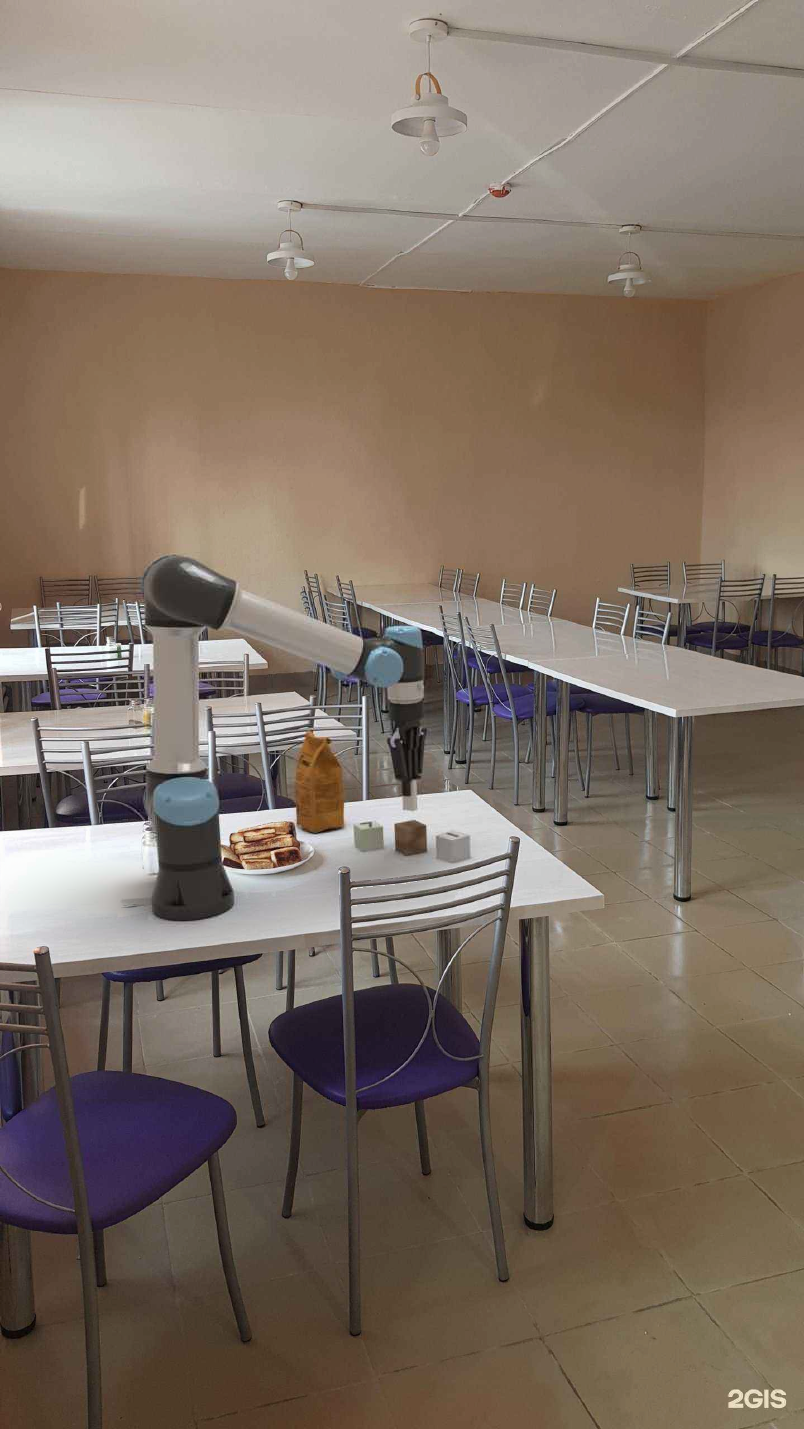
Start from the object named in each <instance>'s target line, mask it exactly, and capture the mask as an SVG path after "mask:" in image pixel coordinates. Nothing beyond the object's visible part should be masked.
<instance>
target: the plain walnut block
mask: <svg viewBox="0 0 804 1429" xmlns="http://www.w3.org/2000/svg"><path fill="white" fill-rule="evenodd" d="M427 830H428V829H427V824H426V823H425V824H424V823H423V822H420V821H418V820H416V819H411V820H407V821H402V822H397V823H394V849H395V851H396V852H398V853H399V854H402V855H403V856H405V857H410V856H415V855H419V854H424V853H428V837H427Z"/></svg>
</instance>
